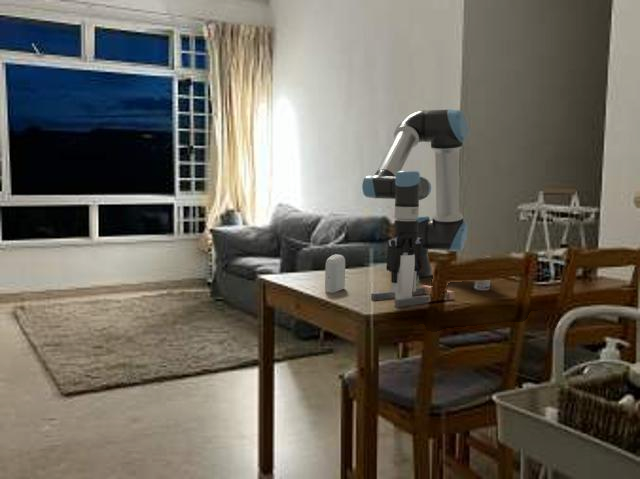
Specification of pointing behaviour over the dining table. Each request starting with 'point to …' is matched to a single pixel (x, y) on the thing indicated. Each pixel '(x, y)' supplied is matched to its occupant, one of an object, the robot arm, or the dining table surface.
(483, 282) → the energy drink
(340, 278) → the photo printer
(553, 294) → the dining table surface
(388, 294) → the guide channel
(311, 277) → the dining table surface
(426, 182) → the robot arm
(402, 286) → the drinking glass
